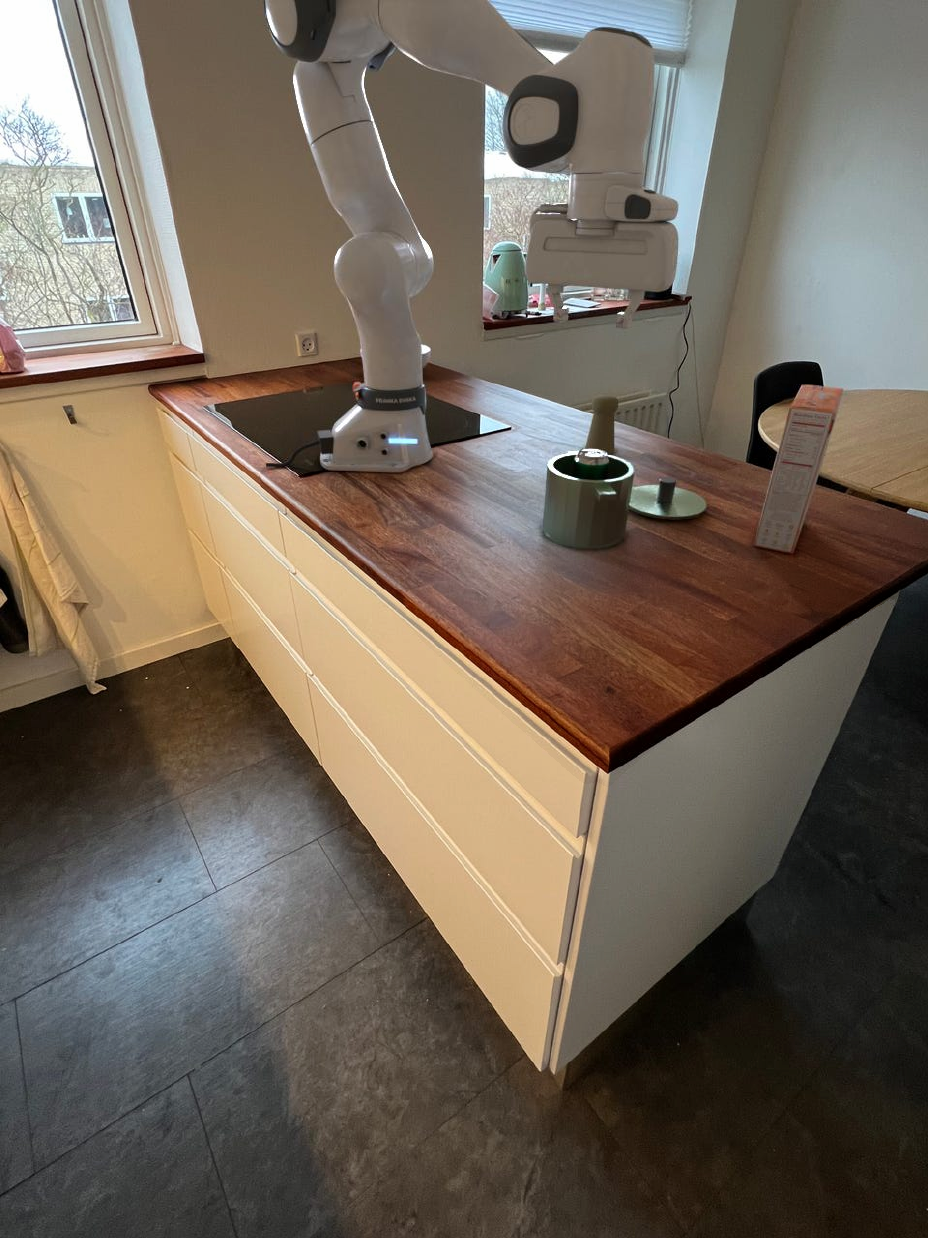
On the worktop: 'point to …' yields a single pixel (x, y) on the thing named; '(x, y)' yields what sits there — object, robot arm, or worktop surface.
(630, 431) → the worktop surface
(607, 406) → the beige pestle
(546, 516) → the pot
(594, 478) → the soda can
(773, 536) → the cracker box
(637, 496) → the lid
